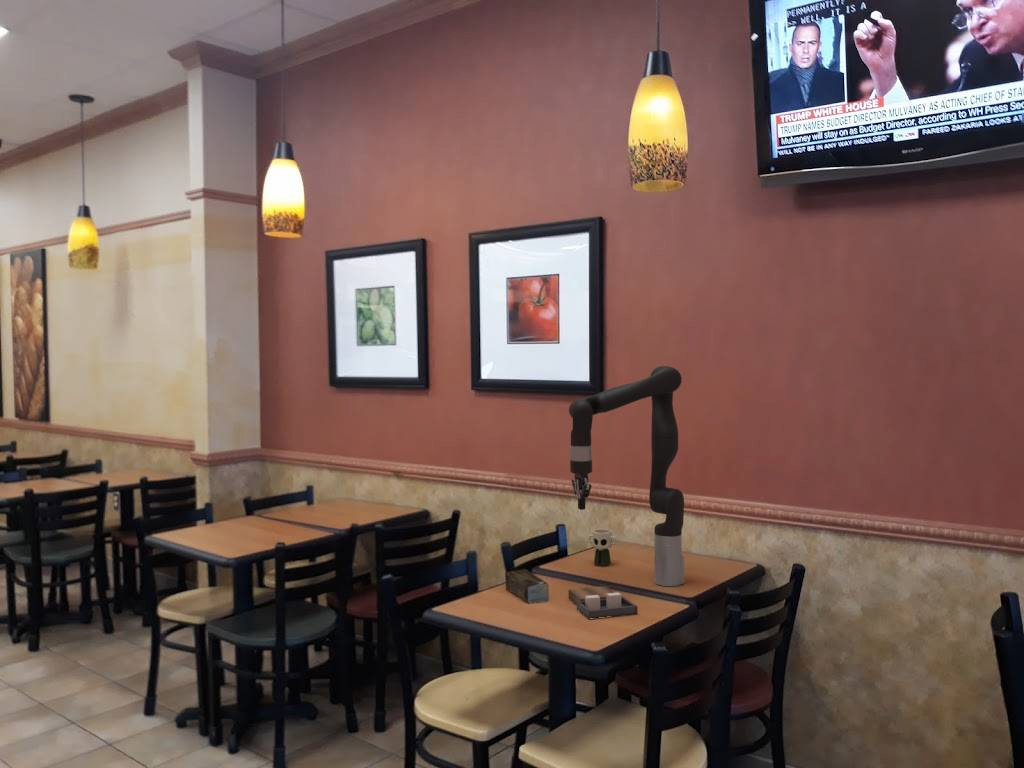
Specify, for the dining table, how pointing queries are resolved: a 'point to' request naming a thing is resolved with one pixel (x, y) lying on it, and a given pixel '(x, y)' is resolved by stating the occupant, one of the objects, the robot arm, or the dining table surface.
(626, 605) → the tray
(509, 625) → the dining table surface
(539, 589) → the beverage carton
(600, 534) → the character mug
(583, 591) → the flat wooden board
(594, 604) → the tile
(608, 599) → the tile
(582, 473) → the robot arm
